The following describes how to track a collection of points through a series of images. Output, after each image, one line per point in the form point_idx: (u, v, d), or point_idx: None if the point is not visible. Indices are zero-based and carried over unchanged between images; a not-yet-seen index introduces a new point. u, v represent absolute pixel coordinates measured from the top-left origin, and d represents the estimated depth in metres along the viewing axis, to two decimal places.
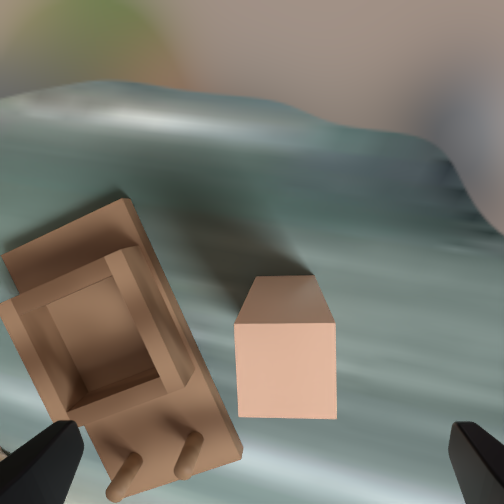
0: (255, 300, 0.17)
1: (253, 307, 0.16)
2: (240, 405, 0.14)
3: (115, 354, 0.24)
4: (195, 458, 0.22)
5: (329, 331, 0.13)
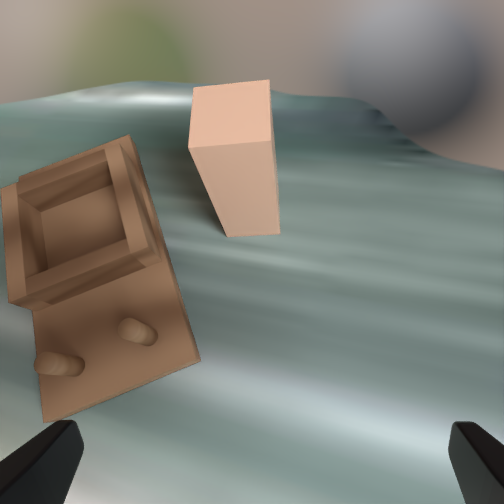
0: None
1: None
2: (190, 139, 0.16)
3: (88, 251, 0.25)
4: (144, 328, 0.20)
5: (264, 84, 0.17)
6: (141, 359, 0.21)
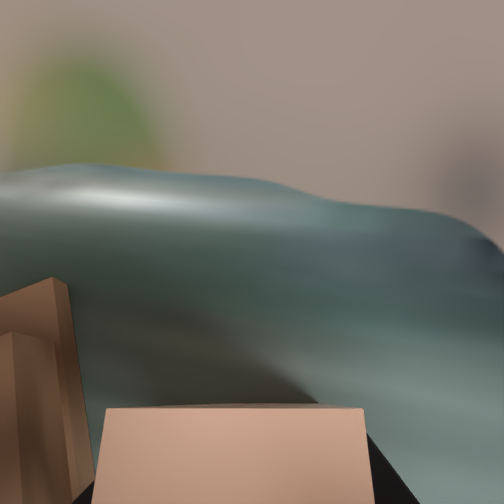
0: (198, 405, 0.09)
1: None
2: None
3: None
4: None
5: (349, 434, 0.05)
6: None
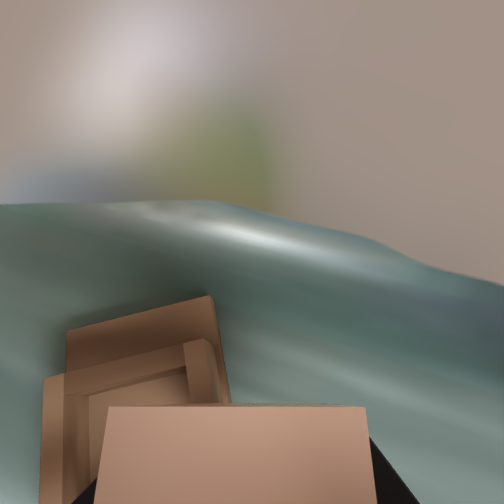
0: None
1: None
2: None
3: None
4: None
5: (351, 432, 0.05)
6: None
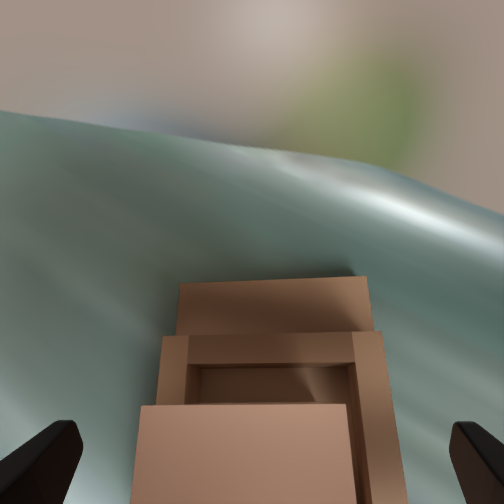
0: None
1: None
2: None
3: None
4: None
5: (335, 424, 0.06)
6: None
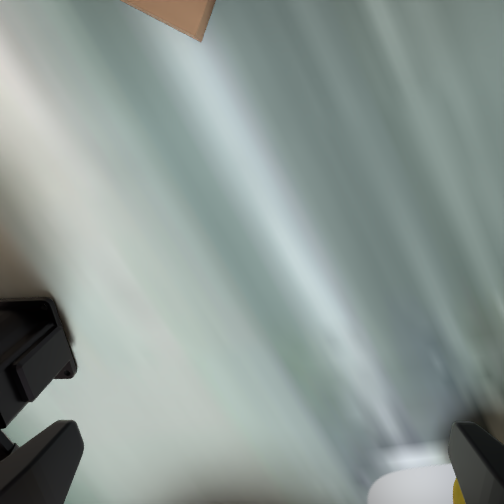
0: None
1: None
2: None
3: None
4: None
5: None
6: None
